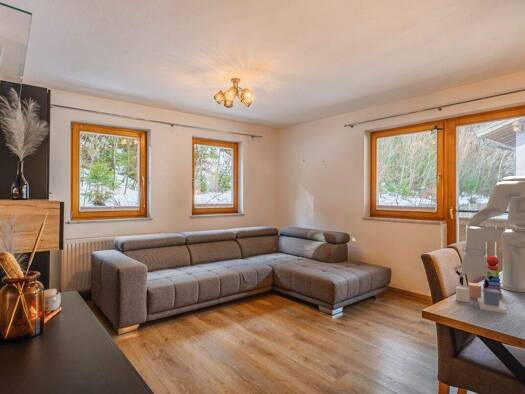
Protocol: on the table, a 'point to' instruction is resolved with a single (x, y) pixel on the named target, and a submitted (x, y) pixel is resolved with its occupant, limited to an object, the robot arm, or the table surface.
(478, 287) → the terracotta brick
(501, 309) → the tower base
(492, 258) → the stacking toy
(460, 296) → the cream brick
